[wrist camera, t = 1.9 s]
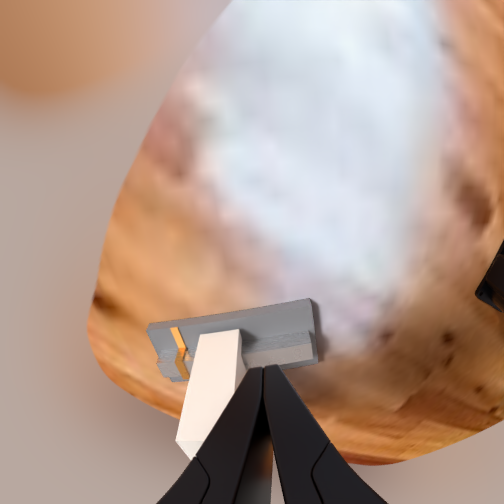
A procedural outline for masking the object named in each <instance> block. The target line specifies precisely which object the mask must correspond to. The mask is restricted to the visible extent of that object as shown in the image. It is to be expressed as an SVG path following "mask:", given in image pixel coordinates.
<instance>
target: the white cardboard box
mask: <svg viewBox="0 0 504 504" xmlns="http://www.w3.org/2000/svg"><path fill="white" fill-rule="evenodd" d="M241 348H242V338H241V334H240V331H239V329H236V330H230V331H223V332H216V333H208V334H201V335H200V337H199V342H198V346H197V350H196V354H195V358H194V362H193V366H192V371H191V375H190V379H189V383H188V388H187V392H186V396H185V401H184V405H183V410H182V414H181V418H180V423H179V428H178V432H177V437H176V442H177V443H178V445H179V446H180V447H181V449H182V450H183V451H184V452H185V453H186V455H187V456H188V457H189V458H190V460H192V458H193V457H194V456H195V454H196V453H197V451H198V450H199V448H200V447H201V445H202V444H203V442H204V440H205V439H206V437H207V436H208V434H209V433H210V431H211V430H212V428H213V426H214V425H215V423H216V422H217V420H218V418H219V417H220V415H221V414H222V412H223V410H224V409H225V407H226V406H227V404H228V402H229V401H230V399H231V397H232V396H233V394H234V392H235V391H236V389H237V387H238V386H239V384H240V382H241V381H242V379H243V377H244V376H245V374H246V372H247V371H248V370H246V369H245V366H244V363H243V359H242V356H241ZM195 457H196V456H195Z"/></svg>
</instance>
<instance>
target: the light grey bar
mask: <svg viewBox="0 0 504 504" xmlns="http://www.w3.org/2000/svg"><path fill="white" fill-rule="evenodd" d="M196 350H197V347H195V348H186V347H185V348H179V349H175V350H165V351H161V353H160V355H159V358H158V361H157V363H156V364H157V366H158V367H159V369H160V371H161V373H162V375H163V377H179V376H182V378H183V380H185V379H190V375H191V371H192V366H193V362H194V358H195V354H196ZM241 356H242V359H243V363H244V366H245V369H246V370H248V369H249V368H252V367H259V366H262V367H264V366H266V365H272V364H278V365H281V364H287V363H293V362H299V361H304V360H309V359H313V354H312V345H311V340H310V336H309V332H308V330H306V331H301V332H295V333H290V334H284V335H279V336H273V337H267V338H261V339H254V340H248V341H242V348H241Z"/></svg>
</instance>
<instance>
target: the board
mask: <svg viewBox="0 0 504 504" xmlns="http://www.w3.org/2000/svg"><path fill="white" fill-rule="evenodd" d="M236 329H239V331H240V334H241V338H242V341H248V340H254V339H261V338H267V337H273V336H279V335H284V334H290V333H295V332H301V331H306V330H308V332H309V336H310V340H311V345H312V354H313V359H309V360H304V361H299V362H293V363H287V364H281V365H279V366H280V368H281V369H282V370H285V369H291V368H296V367H302V366H307V365H312V364H317V363H318V356H317V346H316V338H315V329H314V321H313V313H312V305H311V302H310V298H308V299H302V300H297V301H292V302H287V303H281V304H276V305H270V306H264V307H259V308H253V309H247V310H241V311H235V312H229V313H222V314H216V315H209V316H202V317H195V318H188V319H181V320H173V321H166V322H158V323H150V324H149V326H148V328H147V330H146V332H147V334H148V336H149V338H150V340H151V342H152V344H153V346H154V348H155V350H156V352H157V354H158V356H159V355H160V353H161V351H165V350H175V349H179V348H185V347H186V348H195V347H197V346H198V342H199V337H200V335H201V334H208V333H216V332H223V331H230V330H236ZM263 368H264V367H263ZM170 379H171V381H172V382H181V381H189V379H185V380H183V378H182V376H179V377H170Z"/></svg>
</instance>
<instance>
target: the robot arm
mask: <svg viewBox="0 0 504 504" xmlns="http://www.w3.org/2000/svg"><path fill="white" fill-rule="evenodd" d="M475 295H476V296H477V297H478V298H479V299H481V300H482V301H484V302H486V303H487V304H489V305H491V306H492V307H494V308H495V309H497V310H499V311H500V312H504V241H503V243H502V245H501V247H500V249H499V251H498V253H497V255H496V257H495V259H494V260H493V262H492V264H491V266H490V268H489V270H488V271H487V273H486V275H485V277H484V278H483V280H482V282H481V283H480V285H479V287H478V288H477V290H476V292H475ZM273 450H274V455H275V460H276V464H277V469H278V474H279V478H280V483H281V488H282V492H283V497H284V502H285V504H388V503H387V502H386V501H384V499H383V498H381V497H380V496H379V495H378V494H377V493H376V492H375V491H374V490H373V489H372V488H371V487H370V486H369V485H367V484H366V483H365V482H364V481H363V480H362V479H361V478H360V477H359V476H358V475H357V473H356V472H355V471H354V470H353V469H352V468H351V467H350V466H349V465H348V464H347V462H346V461H345V460H344V458H343V457H342V456H341V455H340V453H339V452H338V451H337V449H336V448H335V446H334V445H333V444H332V443H331V442H330V440H329V438H328V437H327V435H326V434H325V433H324V431H323V430H322V428H321V427H320V425H319V424H318V422H317V421H316V420H315V418H314V417H313V415H312V414H311V412H310V411H309V409H308V408H307V406H306V405H305V403H304V402H303V401H302V399H301V398H300V396H299V395H298V393H297V392H296V390H295V389H294V387H293V386H292V384H291V383H290V381H289V380H288V378H287V377H286V375H285V374H284V372H283V371H282V369H281V368H280V366H279V365H278V364H272V365H266V366H264V368H263V367H262V366H259V367H252V368H249V369H248V371H247V372H246V374H245V376H244V377H243V379H242V381H241V382H240V384H239V386H238V387H237V389H236V391H235V392H234V394H233V396H232V397H231V399H230V401H229V402H228V404H227V406H226V407H225V409H224V410H223V412H222V414H221V415H220V417H219V418H218V420H217V422H216V423H215V425H214V426H213V428H212V430H211V431H210V433H209V434H208V436H207V437H206V439H205V440H204V442H203V444H202V445H201V447H200V448H199V450H198V451H197V453H196V454H195V456H196V457H195V456H194V457H193V458H192V460H191V462H190V463H189V465H188V466H187V468H186V469H185V470H184V472H183V473H182V474H181V476H180V477H179V478H178V480H177V481H176V482H175V483H174V484H173V486H172V487H171V488H170V489H169V490H168V491H167V493H166V494H165V495H164V496H163V497H162V498H161V499H160V500H159V501H158V502H157V503H156V504H270V502H271V485H272V466H273Z"/></svg>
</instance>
